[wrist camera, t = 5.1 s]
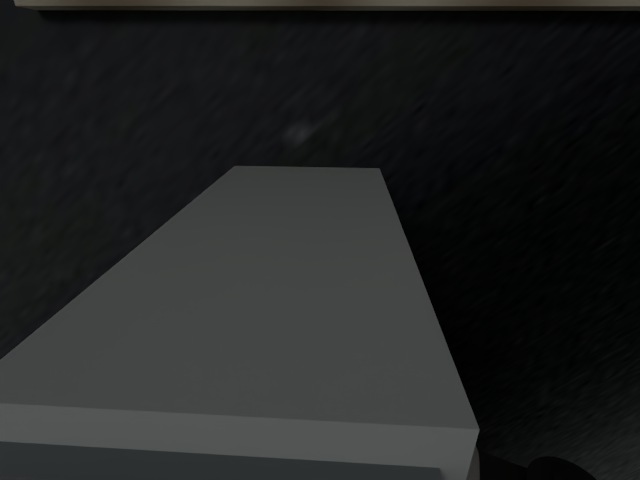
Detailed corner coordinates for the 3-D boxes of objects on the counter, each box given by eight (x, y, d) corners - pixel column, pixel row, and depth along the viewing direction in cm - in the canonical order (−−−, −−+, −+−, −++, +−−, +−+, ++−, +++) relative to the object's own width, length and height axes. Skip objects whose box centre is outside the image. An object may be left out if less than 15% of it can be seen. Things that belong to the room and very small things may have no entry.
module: (379, 168, 11) (492, 466, 3) (363, 386, 15) (389, 799, 6) (234, 165, 11) (-88, 431, 3) (254, 381, 15) (141, 772, 7)
